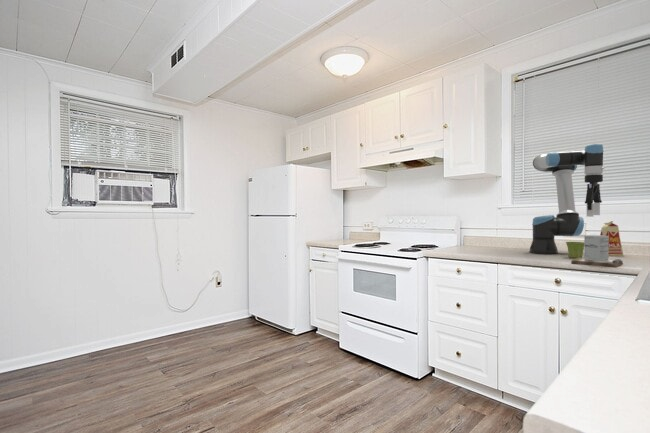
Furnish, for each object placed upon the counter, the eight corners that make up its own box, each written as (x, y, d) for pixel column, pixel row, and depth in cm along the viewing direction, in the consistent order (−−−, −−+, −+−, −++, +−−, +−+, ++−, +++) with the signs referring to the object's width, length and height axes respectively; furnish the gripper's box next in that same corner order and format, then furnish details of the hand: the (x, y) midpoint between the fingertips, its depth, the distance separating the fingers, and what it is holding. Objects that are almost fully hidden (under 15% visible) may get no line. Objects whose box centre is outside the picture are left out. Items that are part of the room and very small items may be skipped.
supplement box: (583, 260, 182) (583, 235, 182) (593, 259, 185) (593, 234, 184) (599, 261, 175) (598, 236, 175) (609, 260, 178) (609, 235, 177)
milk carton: (623, 255, 206) (623, 221, 205) (605, 255, 208) (605, 221, 207) (614, 253, 215) (614, 220, 214) (596, 253, 216) (596, 220, 216)
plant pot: (578, 256, 207) (578, 241, 206) (590, 258, 197) (590, 242, 197) (561, 256, 207) (561, 241, 206) (573, 259, 197) (573, 243, 197)
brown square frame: (571, 263, 182) (571, 258, 182) (579, 260, 192) (579, 255, 192) (616, 267, 168) (616, 262, 168) (622, 263, 178) (622, 258, 178)
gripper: (596, 173, 174) (596, 217, 175) (608, 174, 190) (607, 214, 191) (578, 174, 179) (578, 216, 180) (590, 175, 196) (590, 214, 197)
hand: (593, 215), depth 186 cm, fingers open, 13 cm apart
